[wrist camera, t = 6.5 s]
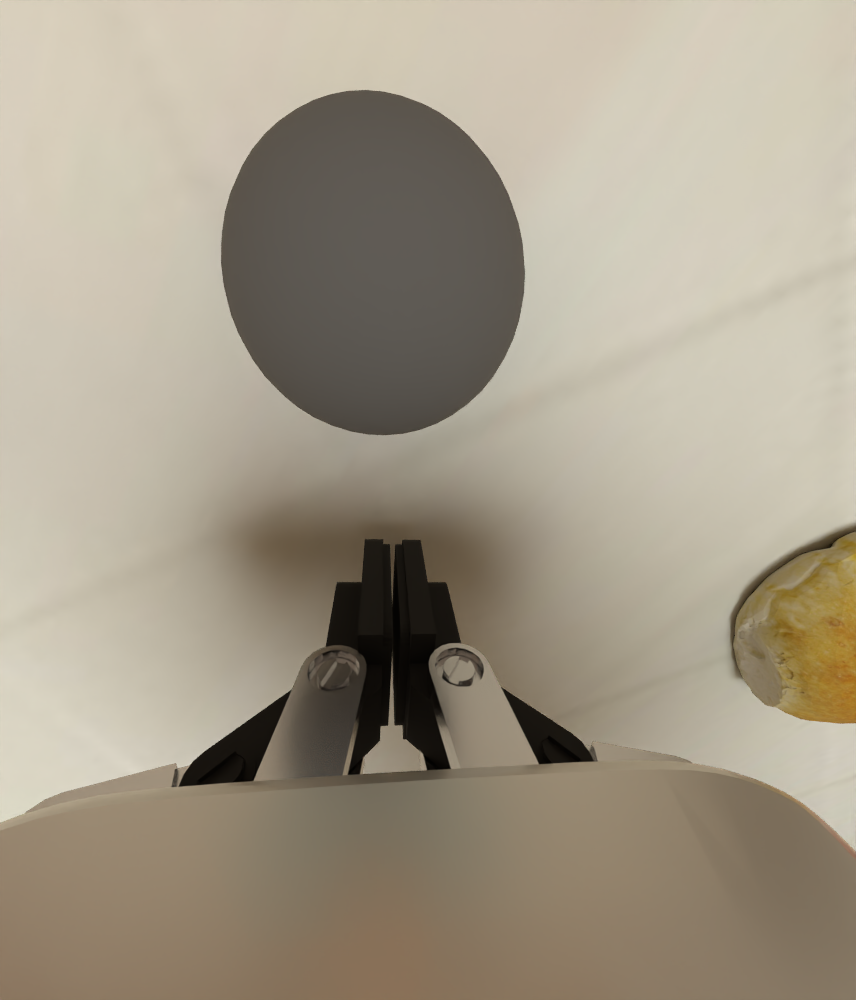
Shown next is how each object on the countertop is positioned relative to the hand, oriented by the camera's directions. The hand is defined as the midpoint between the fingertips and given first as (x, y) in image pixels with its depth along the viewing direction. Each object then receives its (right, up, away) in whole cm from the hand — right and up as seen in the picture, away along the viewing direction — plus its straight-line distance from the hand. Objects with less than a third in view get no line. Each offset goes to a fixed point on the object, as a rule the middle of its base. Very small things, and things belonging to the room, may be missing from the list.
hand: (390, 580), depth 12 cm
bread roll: (+18, -2, +5) cm, 19 cm away
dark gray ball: (0, +6, -4) cm, 8 cm away
